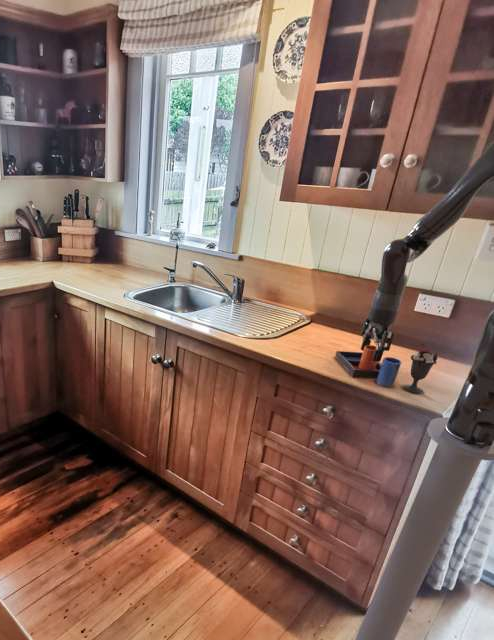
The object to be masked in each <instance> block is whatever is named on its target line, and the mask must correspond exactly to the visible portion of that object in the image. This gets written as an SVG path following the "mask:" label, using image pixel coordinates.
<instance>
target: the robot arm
mask: <svg viewBox="0 0 494 640" xmlns="http://www.w3.org/2000/svg"><path fill="white" fill-rule="evenodd" d="M492 178H494V141H492V142H491V143H490V144H489V145H488V147H487V148H486V149H484V151H483V152H482V153H481V155H479V157H478V158H477V159H476V160H475V161H474V163H473V164H472V165H471V166H470V167H469V168H468V169H467V171H466V172H465V173H464V174H463V175H462V176H461V178H459V180H457V182H456V183H455V185H454V186H453V187H452V188H451V189H450V190H449V191H448V193H446V195H445V196H444V197H442V198H441V200H439V201H438V202H437V203H436V204H435V205H433V206H432V208H430V210H428V211H426V213H425V214H424V215H423V216H422V217H420V218H419V219H418V220H417V221H416V222H415V223H414V225H413V229H412V230H411V231H410V232H409V233H408V234H407V235H406V236H405V237H403V238H398V239H394V240H392V241H390V242H389V243H388V244H387V246H386V247H385V249H384V250H383V254H382V257H381V258H382V259H381V267H380V268H381V270H380V272H381V273H380V279H379V281H378V285H377V287H376V292H375V293H374V295H373V298H372V301H371V304H370V308H369V312H368V315H367V317H365V318H364V322H363V325H362V327H361V330H360V335H361V336H362V343H361V346H360V350H361V351H362V352H363V350H364V346H366V345H371V342H372V339H373V343H374V344H375V346H376V349H375V353H374V356H373V359H372V360H373V361H378V362H379V363H380V362H381V360H382V357H383V355H384V352H389V351H390V349H391V346H392V342H393V338H394V336H395V332H394V331H390V330H389V329H390V326H392V325H394V324H395V323H396V320H397V317H398V313H399V310H400V307H401V305H402V302H403V301H402V300H403V295H404V292H405V289H406V286H407V282H408V275H407V274H406V270H407V265H408V263H412V262H413V261H415V260H416V259H418V258H419V257H420V256H422V255H423V254H424V252H426V251H427V250H428V248H429V247H430V246H432V244H433V243H434V242H435V241H436V240H437V239H439V238H440V237H441V236H442V235H444V234H445V233H446V232H447V231H449V230H450V229H451V228H452V227H453V226H454V225H456V224H457V223H458V221H459V220H460V219H461V218H462V217H463V216H464V214H465V212H466V211H467V209H468V208H469V206H470V205H471V202H472V201H473V199H474V197H475V195H476V194H477V192H479V190H480V189H481V188H482V187H483V186H484V185H485V184H486V183H487V182H489V181H490V180H491V179H492ZM449 418H450V419H448V423H447V425H446V427H445V430H446V431H447V433H449V434H450V435H451V436H453V437H454V438H456V439H458V440H461V441H463V442H464V443H465V444H470V445H480V446H479V448H481V449H482V448H483V447H485V446H491V445H492V443H493V441H494V309H493V310H492V311H491V312H490V313H489V315H488V316H487V318H486V320H485V322H484V324H483V327H482V330H481V333H480V336H479V339H478V342H477V345H476V347H475V350H474V354H473V362H472V365H471V367H470V368H469V371H468V374H467V377H466V378H465V381H464V383H463V386H462V388H461V390H460V393H459V395H458V397H457V400H456V402H455V405H454V407H453V409H452V411H451V414H450V416H449Z"/></svg>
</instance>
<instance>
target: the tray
mask: <svg viewBox="0 0 494 640" xmlns="http://www.w3.org/2000/svg"><path fill="white" fill-rule="evenodd" d="M362 353H363V351H362V352H361V351H360V352H359V351H345V350H343V351H342V350H336V352H335V355H334V359H335V360H336V361H337V362H338V363H339V365H341V367H343V369H344V370H345V371H346V372H347V373H348V374H349V375H350V376H351V377H352V378H361V379H362V378H363V379H377V377H378V374H379V371H380V368H381V365H382V363H381V362H380V361H379V362H377V365H376V368H375V370H362V369H358V366H359V363H360V359H361V356H362Z"/></svg>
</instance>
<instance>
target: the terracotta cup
mask: <svg viewBox="0 0 494 640" xmlns="http://www.w3.org/2000/svg"><path fill="white" fill-rule="evenodd" d="M375 349H376V345H372V344H370V345H366V346H364V350H363V351H362V356H361V359H360V363H359V366H358V369H362V370H375V368H376V365H377V362H378V361H373V360H372V359H373V356H374V353H375Z"/></svg>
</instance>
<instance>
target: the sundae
mask: <svg viewBox="0 0 494 640" xmlns="http://www.w3.org/2000/svg"><path fill="white" fill-rule="evenodd" d="M421 347H422V348H421V349H419V350H418V352H417V353H414V354H411V356H410V360H412V362H411V367H410V368H411V369H410V376H411V378H412V379H413V381H412V383H411V384H410V385H409V384H408V385H404V386H403V389H404V390H405V391H407V392H409V393H411V394H422V393H423V390H422V389H421V388H419V387H418V383H419V381H422V380H424V379H425V378H426V377H427V376H428V374H429V373H430V371H431V369H432V367H433V366H434V365H436V364H437V363H438V362H437V360H438V354H437V353H435V354H433V352H431V351H430V349H427V347H426V346H425V343H421ZM424 348H425V349H424ZM423 349H424V350H423Z"/></svg>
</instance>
